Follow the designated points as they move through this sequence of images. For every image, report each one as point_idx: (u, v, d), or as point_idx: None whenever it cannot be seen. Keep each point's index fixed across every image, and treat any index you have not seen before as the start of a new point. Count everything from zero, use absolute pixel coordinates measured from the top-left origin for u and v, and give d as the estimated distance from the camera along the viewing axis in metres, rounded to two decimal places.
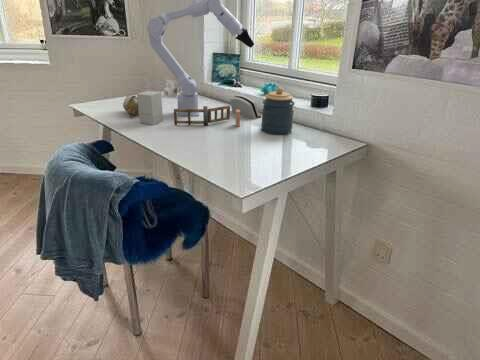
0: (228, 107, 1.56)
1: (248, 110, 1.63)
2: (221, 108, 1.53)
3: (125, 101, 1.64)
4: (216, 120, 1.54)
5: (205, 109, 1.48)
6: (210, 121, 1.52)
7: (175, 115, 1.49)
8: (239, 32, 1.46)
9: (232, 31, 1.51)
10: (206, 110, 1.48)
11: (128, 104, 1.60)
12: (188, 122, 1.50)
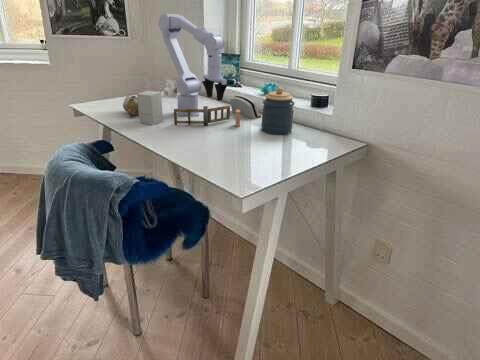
0: (228, 107, 1.56)
1: (248, 110, 1.63)
2: (221, 108, 1.53)
3: (125, 101, 1.64)
4: (216, 120, 1.54)
5: (205, 109, 1.48)
6: (210, 121, 1.52)
7: (175, 115, 1.49)
8: (224, 82, 1.47)
9: (213, 76, 1.49)
10: (206, 110, 1.48)
11: (128, 104, 1.60)
12: (188, 122, 1.50)
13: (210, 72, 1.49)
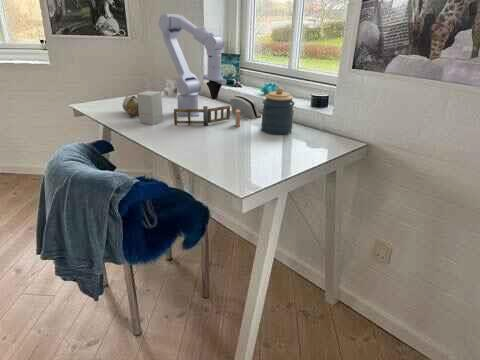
0: (228, 107, 1.56)
1: (248, 110, 1.63)
2: (221, 108, 1.53)
3: (125, 101, 1.63)
4: (216, 120, 1.54)
5: (205, 109, 1.48)
6: (210, 121, 1.52)
7: (175, 115, 1.49)
8: (223, 82, 1.47)
9: (213, 76, 1.49)
10: (206, 110, 1.48)
11: (128, 104, 1.60)
12: (188, 122, 1.50)
13: (210, 72, 1.49)
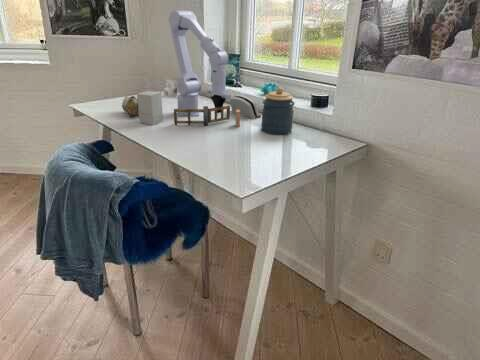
0: (228, 107, 1.56)
1: (248, 110, 1.63)
2: (221, 108, 1.53)
3: (124, 101, 1.63)
4: (216, 120, 1.54)
5: (205, 109, 1.48)
6: (210, 121, 1.52)
7: (175, 115, 1.49)
8: (228, 97, 1.48)
9: (218, 90, 1.49)
10: (206, 110, 1.48)
11: (127, 104, 1.60)
12: (188, 122, 1.50)
13: (214, 87, 1.49)
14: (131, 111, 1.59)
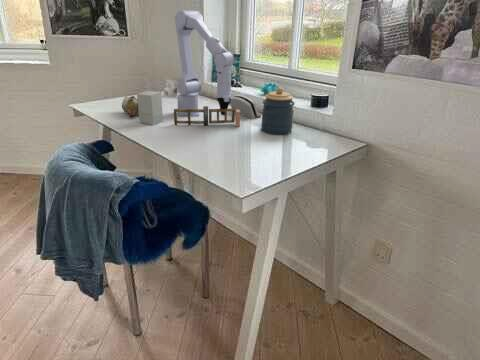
0: (232, 110, 1.51)
1: (247, 110, 1.63)
2: (224, 110, 1.51)
3: (124, 102, 1.63)
4: (218, 121, 1.52)
5: (205, 109, 1.48)
6: (210, 122, 1.51)
7: (175, 115, 1.49)
8: (226, 100, 1.44)
9: (220, 92, 1.47)
10: (206, 110, 1.48)
11: (127, 105, 1.60)
12: (188, 122, 1.50)
13: (217, 88, 1.47)
14: (131, 111, 1.59)
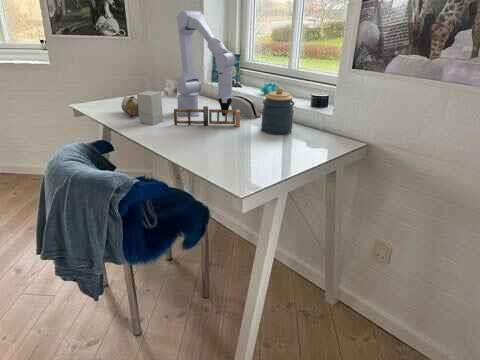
0: (233, 111, 1.49)
1: (247, 110, 1.63)
2: (224, 111, 1.49)
3: (123, 102, 1.62)
4: (218, 122, 1.51)
5: (205, 109, 1.48)
6: (210, 122, 1.51)
7: (175, 115, 1.49)
8: (223, 101, 1.42)
9: (220, 93, 1.46)
10: (206, 110, 1.48)
11: (127, 105, 1.59)
12: (188, 122, 1.50)
13: (218, 88, 1.46)
14: (131, 111, 1.58)
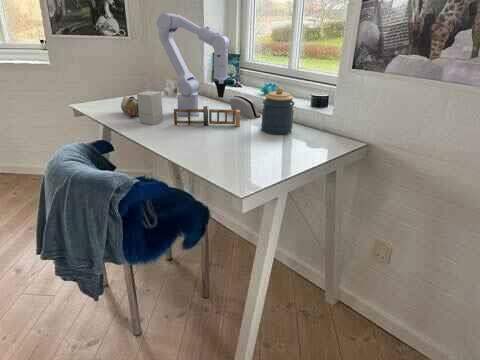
0: (233, 111, 1.49)
1: (247, 110, 1.63)
2: (224, 111, 1.49)
3: (123, 102, 1.62)
4: (218, 122, 1.51)
5: (205, 109, 1.48)
6: (210, 122, 1.51)
7: (175, 115, 1.49)
8: (220, 81, 1.49)
9: (216, 74, 1.53)
10: (206, 110, 1.48)
11: (127, 105, 1.59)
12: (188, 122, 1.50)
13: (214, 70, 1.53)
14: (131, 111, 1.58)
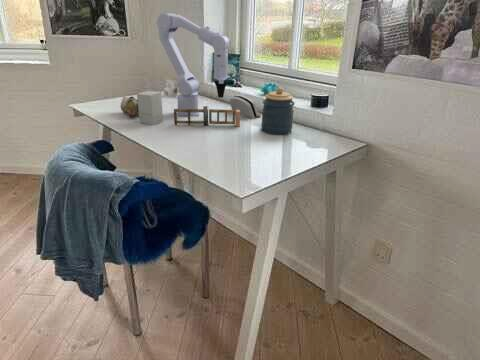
0: (233, 111, 1.49)
1: (247, 110, 1.63)
2: (224, 111, 1.49)
3: (122, 102, 1.62)
4: (218, 122, 1.51)
5: (205, 109, 1.48)
6: (210, 122, 1.51)
7: (175, 115, 1.49)
8: (220, 81, 1.49)
9: (216, 74, 1.53)
10: (206, 110, 1.48)
11: (127, 105, 1.59)
12: (188, 122, 1.50)
13: (214, 70, 1.53)
14: (131, 112, 1.58)
